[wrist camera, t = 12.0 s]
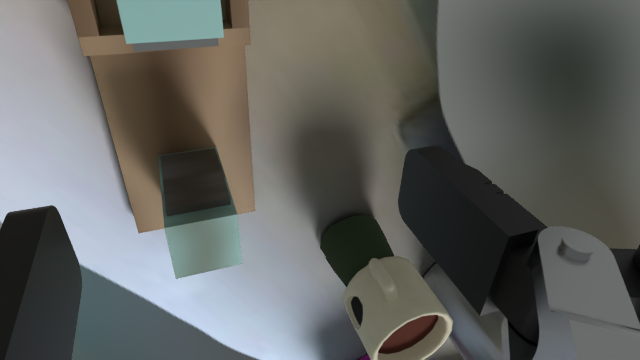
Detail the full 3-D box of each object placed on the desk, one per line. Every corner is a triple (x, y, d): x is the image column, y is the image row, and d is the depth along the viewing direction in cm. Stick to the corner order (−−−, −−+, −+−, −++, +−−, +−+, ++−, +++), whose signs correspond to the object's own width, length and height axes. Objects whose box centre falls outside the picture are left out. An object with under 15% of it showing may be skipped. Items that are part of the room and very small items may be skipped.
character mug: (298, 214, 39) (356, 330, 29) (367, 180, 39) (447, 282, 29) (331, 281, 46) (386, 393, 36) (388, 251, 46) (459, 353, 36)
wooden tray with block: (227, -137, 23) (271, -145, 16) (251, 200, 36) (281, 281, 29) (38, -148, 20) (-15, -164, 13) (138, 221, 33) (140, 316, 26)
